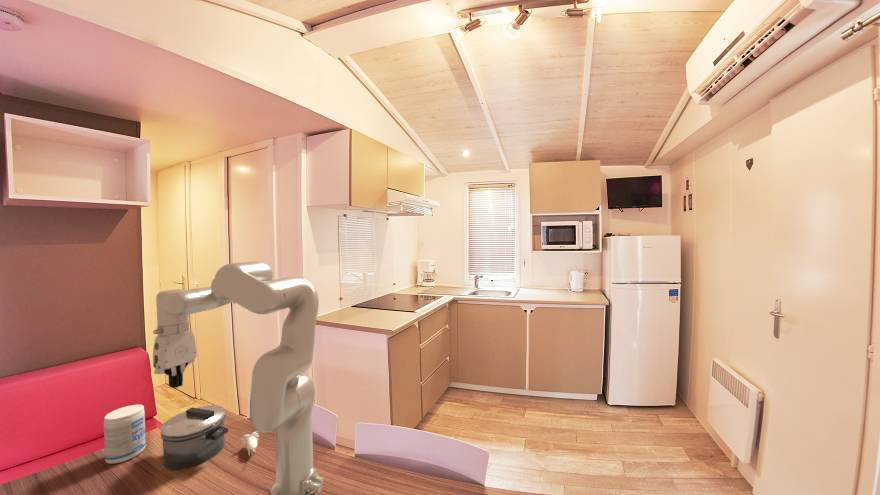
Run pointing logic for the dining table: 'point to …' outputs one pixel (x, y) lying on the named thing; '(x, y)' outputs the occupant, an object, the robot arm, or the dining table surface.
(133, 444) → the supplement tub
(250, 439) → the white toy bomb
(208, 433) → the pot
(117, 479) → the dining table surface
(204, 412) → the pot lid
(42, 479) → the dining table surface
